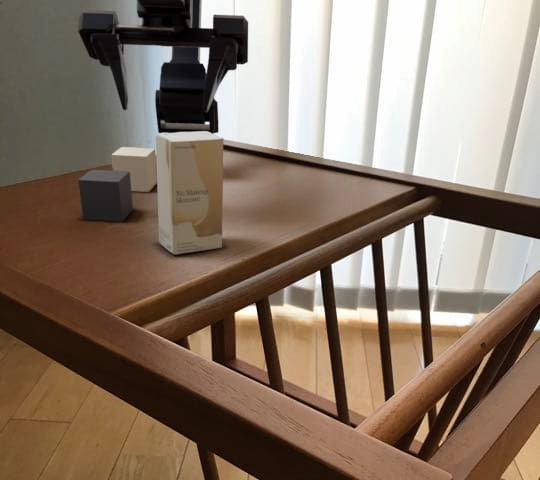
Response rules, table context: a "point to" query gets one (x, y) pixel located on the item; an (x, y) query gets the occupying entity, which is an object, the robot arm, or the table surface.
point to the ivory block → (137, 166)
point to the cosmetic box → (189, 191)
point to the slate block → (106, 195)
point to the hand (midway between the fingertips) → (165, 109)
